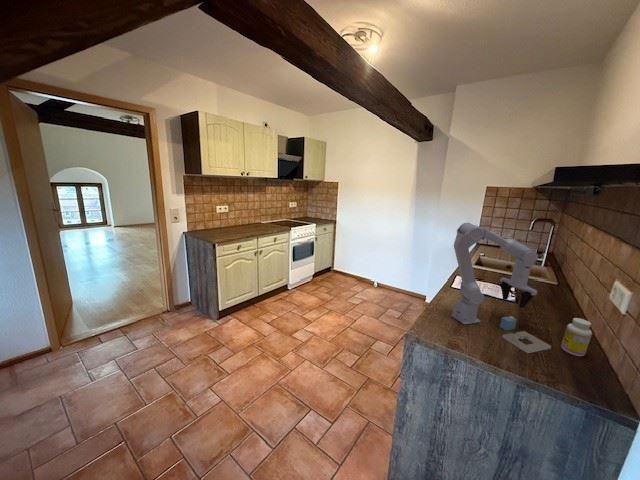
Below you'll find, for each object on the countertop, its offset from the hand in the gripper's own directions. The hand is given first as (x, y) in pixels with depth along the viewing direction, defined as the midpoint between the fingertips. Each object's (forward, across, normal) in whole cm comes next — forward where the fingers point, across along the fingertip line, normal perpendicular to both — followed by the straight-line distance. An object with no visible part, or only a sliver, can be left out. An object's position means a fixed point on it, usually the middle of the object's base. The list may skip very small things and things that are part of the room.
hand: (513, 303), depth 113 cm
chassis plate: (+10, -13, +8) cm, 18 cm away
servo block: (+10, -3, +5) cm, 11 cm away
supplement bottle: (+10, -21, -5) cm, 24 cm away
